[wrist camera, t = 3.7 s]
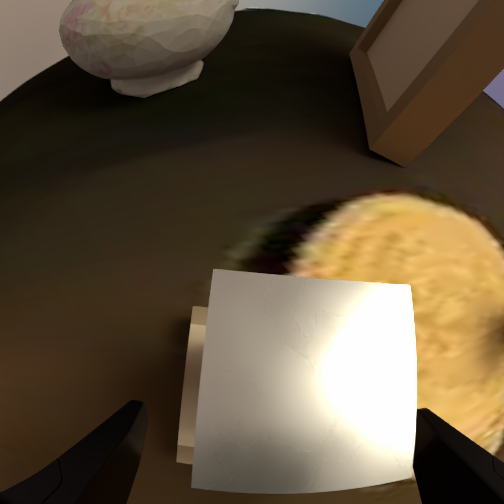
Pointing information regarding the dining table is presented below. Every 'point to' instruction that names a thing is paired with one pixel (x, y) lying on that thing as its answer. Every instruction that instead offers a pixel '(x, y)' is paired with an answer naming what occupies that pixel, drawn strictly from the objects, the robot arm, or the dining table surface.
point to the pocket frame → (191, 385)
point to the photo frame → (424, 69)
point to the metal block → (305, 385)
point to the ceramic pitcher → (144, 40)
